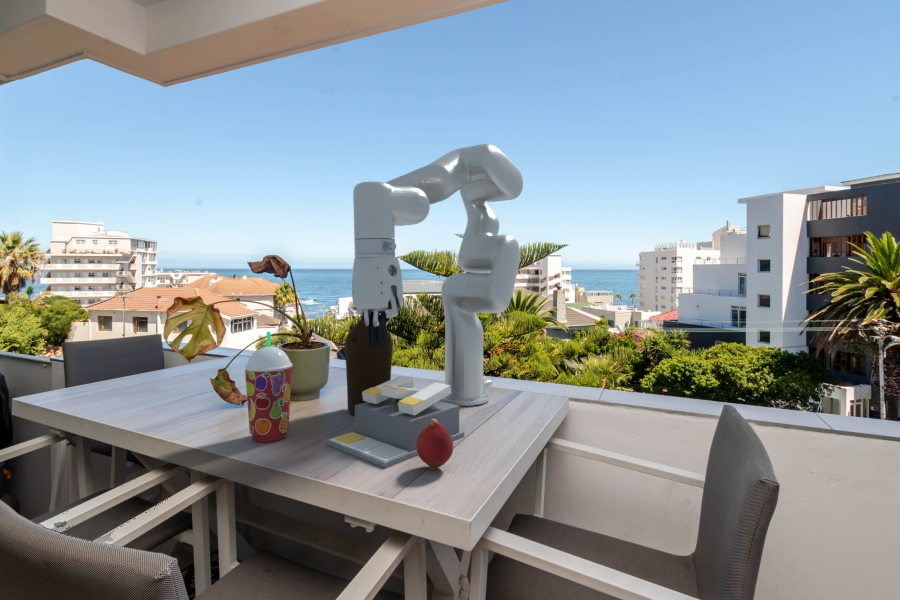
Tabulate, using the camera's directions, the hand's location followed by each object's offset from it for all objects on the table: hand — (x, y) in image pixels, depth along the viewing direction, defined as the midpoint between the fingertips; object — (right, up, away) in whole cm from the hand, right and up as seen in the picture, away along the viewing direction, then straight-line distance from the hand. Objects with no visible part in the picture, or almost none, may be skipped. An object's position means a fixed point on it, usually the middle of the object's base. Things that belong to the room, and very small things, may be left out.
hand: (377, 346), depth 88 cm
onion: (+12, -18, -15) cm, 26 cm away
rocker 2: (+6, -10, 0) cm, 12 cm away
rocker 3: (+10, -10, -4) cm, 15 cm away
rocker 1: (+2, -10, +3) cm, 10 cm away
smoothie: (-20, -17, -1) cm, 27 cm away
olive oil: (-5, -17, +17) cm, 24 cm away
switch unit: (+4, -17, -2) cm, 18 cm away
